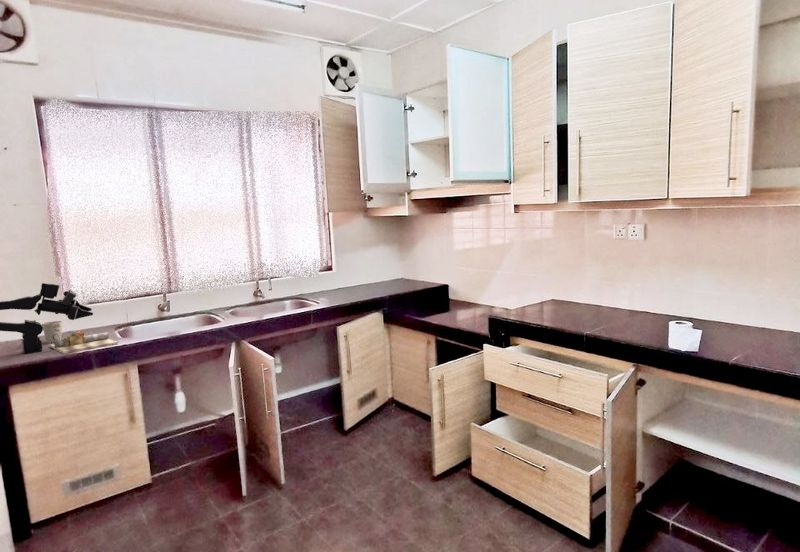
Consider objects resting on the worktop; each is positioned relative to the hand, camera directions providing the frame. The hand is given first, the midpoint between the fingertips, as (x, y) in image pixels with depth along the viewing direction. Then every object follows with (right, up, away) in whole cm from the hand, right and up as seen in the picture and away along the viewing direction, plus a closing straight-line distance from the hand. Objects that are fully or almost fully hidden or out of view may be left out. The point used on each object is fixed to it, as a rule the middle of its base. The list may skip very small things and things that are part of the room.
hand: (92, 311), depth 238 cm
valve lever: (-1, -11, -10) cm, 14 cm away
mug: (-26, -16, +8) cm, 32 cm away
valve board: (-1, -16, -5) cm, 17 cm away
